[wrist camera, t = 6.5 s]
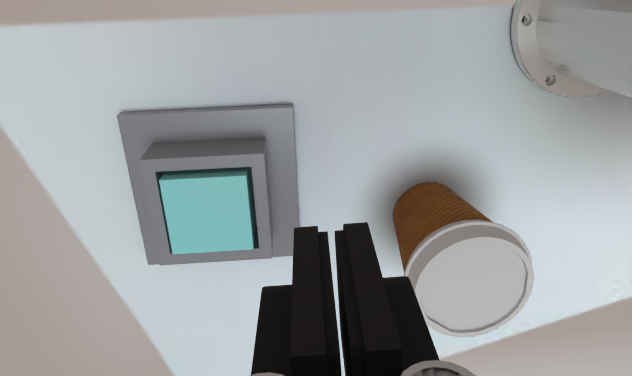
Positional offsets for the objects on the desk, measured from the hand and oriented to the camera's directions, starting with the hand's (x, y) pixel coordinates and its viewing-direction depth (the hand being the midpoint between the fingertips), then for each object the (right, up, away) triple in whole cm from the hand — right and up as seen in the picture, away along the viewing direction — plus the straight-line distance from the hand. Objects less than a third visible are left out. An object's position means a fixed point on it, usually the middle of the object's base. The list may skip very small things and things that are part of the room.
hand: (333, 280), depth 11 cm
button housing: (-9, +2, +30) cm, 32 cm away
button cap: (-9, +2, +29) cm, 30 cm away
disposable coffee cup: (+10, 0, +33) cm, 35 cm away
